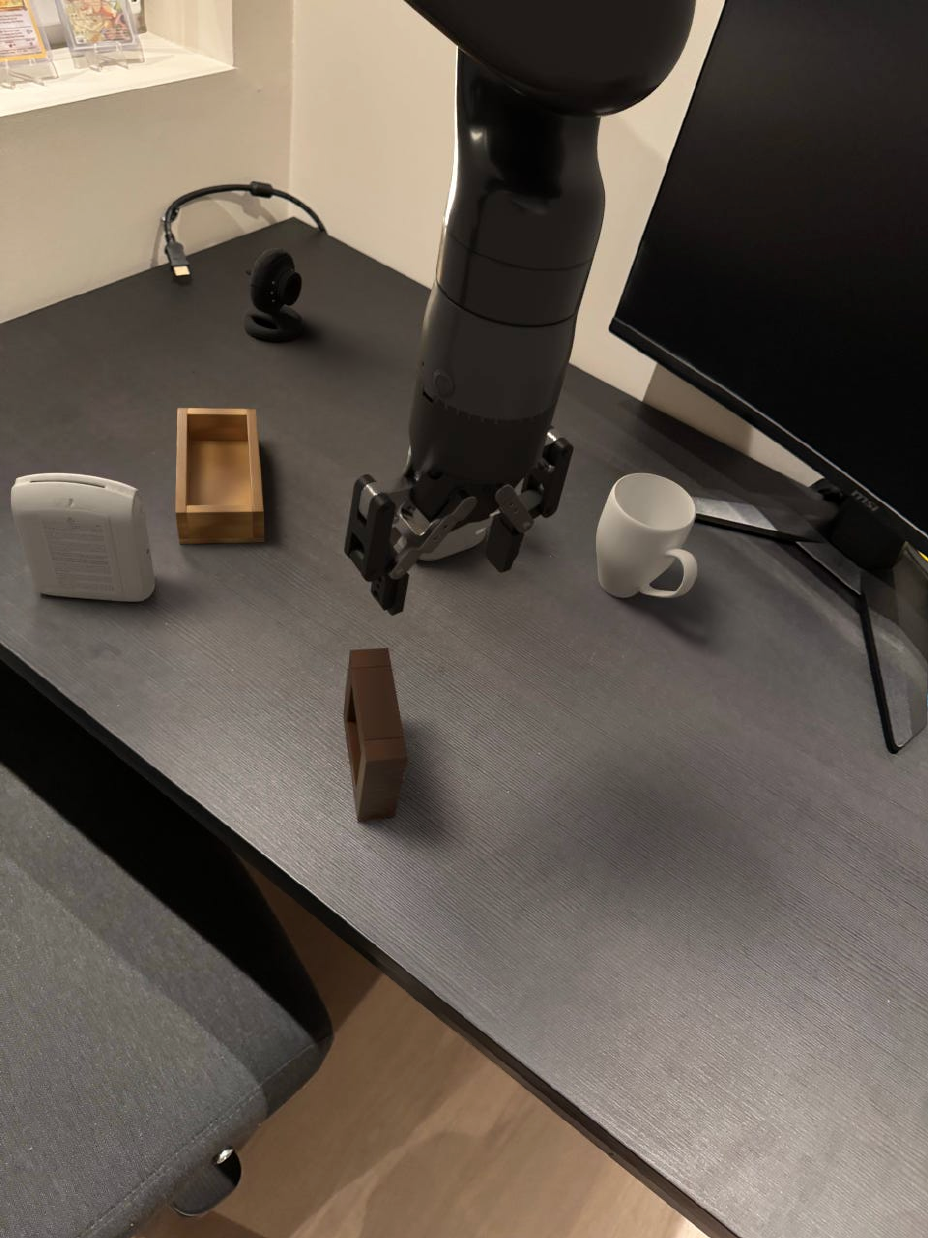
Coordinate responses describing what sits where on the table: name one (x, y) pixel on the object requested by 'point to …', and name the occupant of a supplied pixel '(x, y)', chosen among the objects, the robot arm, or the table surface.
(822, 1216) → the table surface
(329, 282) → the table surface
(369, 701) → the brown wooden box
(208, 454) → the holder
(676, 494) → the mug
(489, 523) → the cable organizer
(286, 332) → the webcam
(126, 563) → the photo printer
